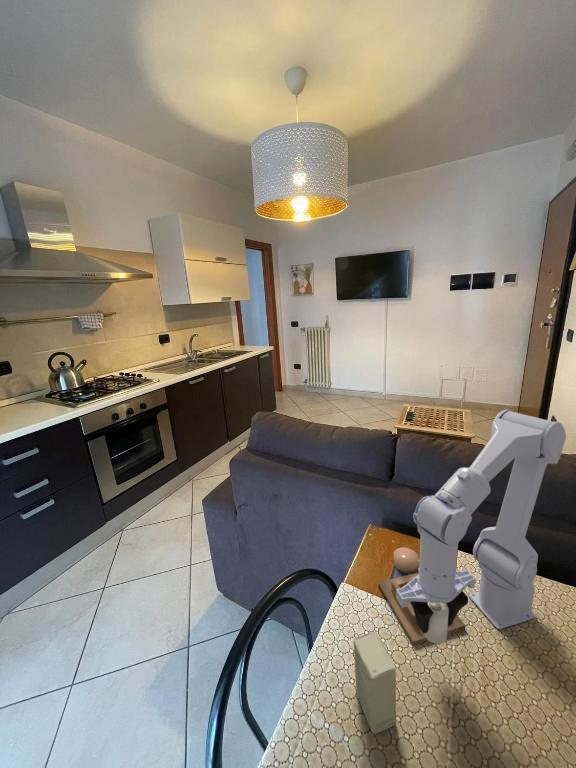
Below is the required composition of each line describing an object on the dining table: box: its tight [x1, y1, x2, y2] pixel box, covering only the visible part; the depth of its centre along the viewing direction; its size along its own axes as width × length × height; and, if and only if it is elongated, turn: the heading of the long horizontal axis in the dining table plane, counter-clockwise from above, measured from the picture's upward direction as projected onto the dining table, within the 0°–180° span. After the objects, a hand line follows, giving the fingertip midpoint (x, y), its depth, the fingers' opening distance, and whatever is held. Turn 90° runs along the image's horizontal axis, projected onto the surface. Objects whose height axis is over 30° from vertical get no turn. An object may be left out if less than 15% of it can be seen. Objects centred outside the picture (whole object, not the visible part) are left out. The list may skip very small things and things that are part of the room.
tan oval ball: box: [393, 546, 420, 575], centre depth 81 cm, size 6×6×2 cm
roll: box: [421, 602, 449, 645], centre depth 57 cm, size 4×4×6 cm
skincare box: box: [353, 631, 397, 735], centre depth 51 cm, size 6×4×12 cm
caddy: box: [377, 571, 466, 646], centre depth 69 cm, size 12×14×4 cm
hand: (433, 624), depth 57 cm, fingers closed on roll, 4 cm apart
